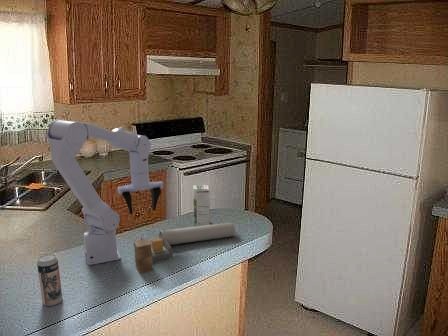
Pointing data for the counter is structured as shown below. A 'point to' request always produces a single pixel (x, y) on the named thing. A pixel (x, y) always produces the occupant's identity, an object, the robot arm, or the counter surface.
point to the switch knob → (157, 244)
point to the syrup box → (201, 205)
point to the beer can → (49, 280)
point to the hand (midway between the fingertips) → (142, 211)
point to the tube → (198, 233)
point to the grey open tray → (161, 250)
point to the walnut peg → (143, 255)
